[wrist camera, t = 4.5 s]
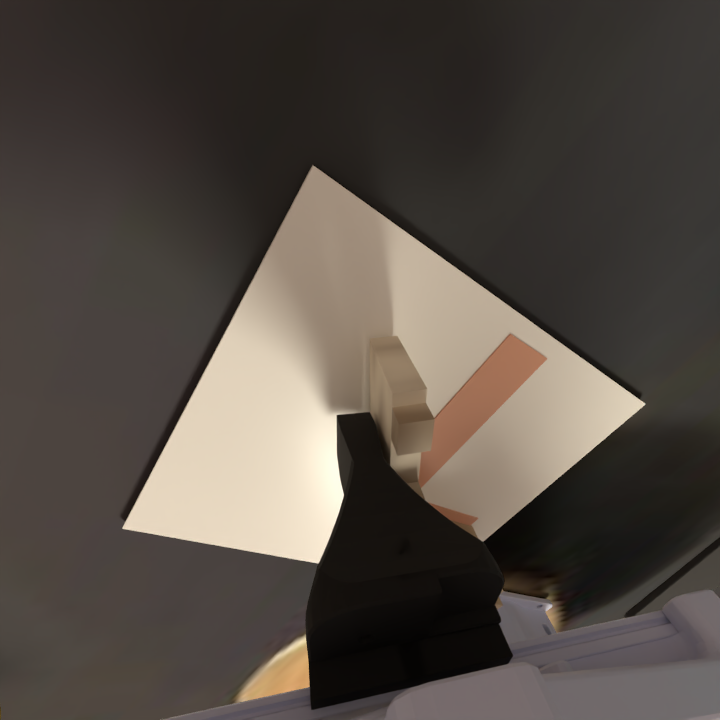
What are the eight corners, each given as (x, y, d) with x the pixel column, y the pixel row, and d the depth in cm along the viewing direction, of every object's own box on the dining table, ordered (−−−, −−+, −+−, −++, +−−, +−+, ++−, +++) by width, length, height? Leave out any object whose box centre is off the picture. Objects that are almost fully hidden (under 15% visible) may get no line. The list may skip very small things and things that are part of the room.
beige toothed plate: (391, 497, 17) (415, 580, 14) (371, 500, 17) (391, 585, 14) (397, 335, 12) (436, 404, 9) (369, 338, 12) (399, 409, 9)
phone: (795, 530, 30) (675, 619, 37) (783, 521, 31) (668, 610, 38) (739, 529, 28) (623, 624, 35) (728, 520, 29) (616, 614, 36)
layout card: (640, 400, 18) (646, 404, 18) (431, 579, 24) (433, 584, 24) (312, 164, 10) (312, 166, 10) (124, 522, 16) (121, 529, 16)
